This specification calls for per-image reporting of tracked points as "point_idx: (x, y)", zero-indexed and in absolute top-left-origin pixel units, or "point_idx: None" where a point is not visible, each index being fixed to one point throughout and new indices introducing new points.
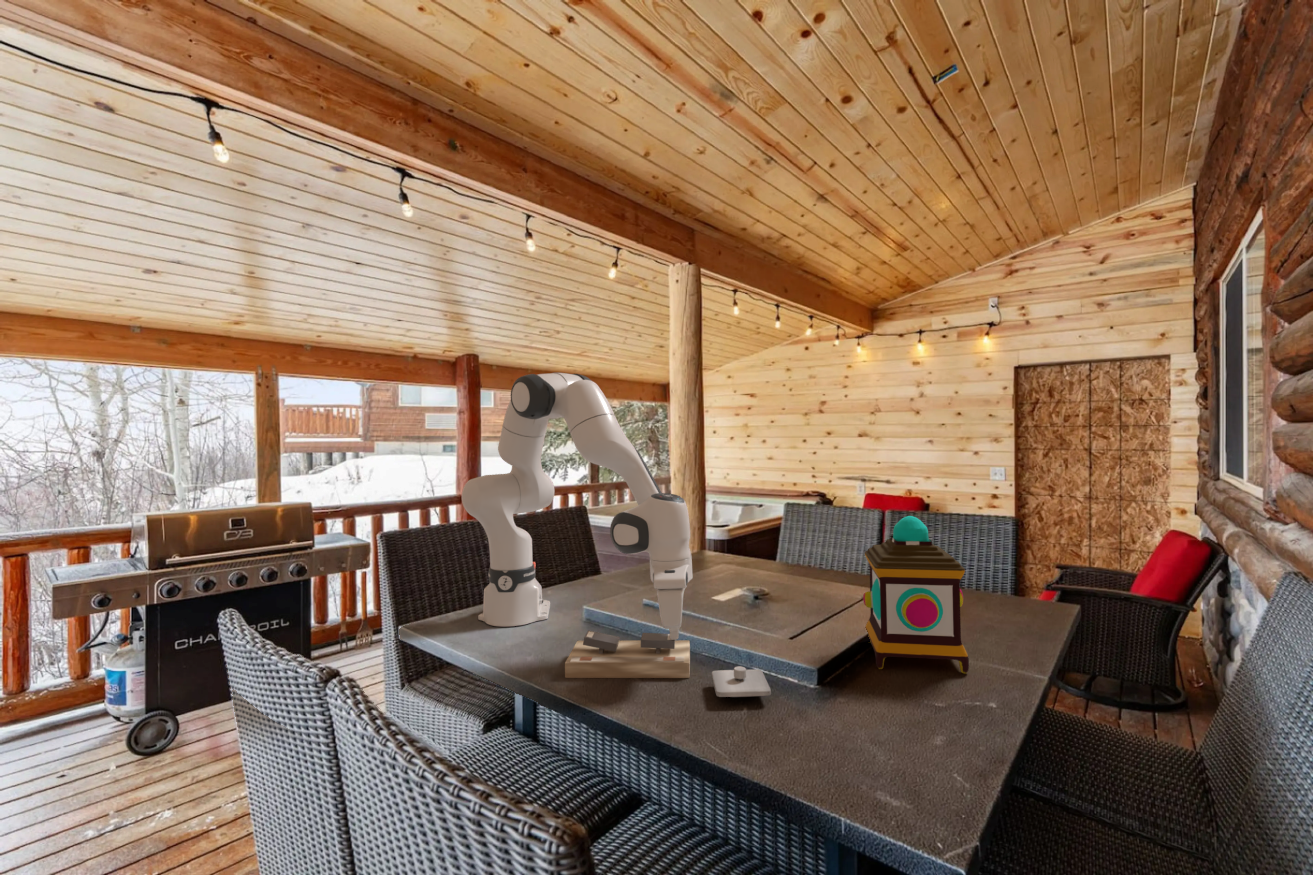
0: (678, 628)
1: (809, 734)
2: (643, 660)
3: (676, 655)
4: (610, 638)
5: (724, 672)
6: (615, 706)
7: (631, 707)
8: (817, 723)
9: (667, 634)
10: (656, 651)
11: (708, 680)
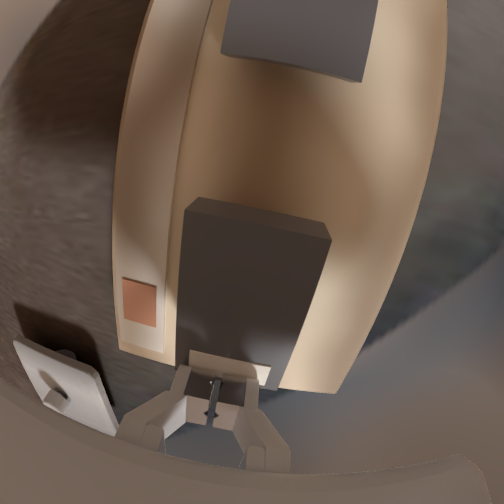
0: (224, 425)
1: (12, 380)
2: (127, 196)
3: None
4: (307, 16)
5: (84, 390)
6: (9, 114)
7: (3, 153)
8: None
9: (275, 363)
10: None
11: (127, 354)
